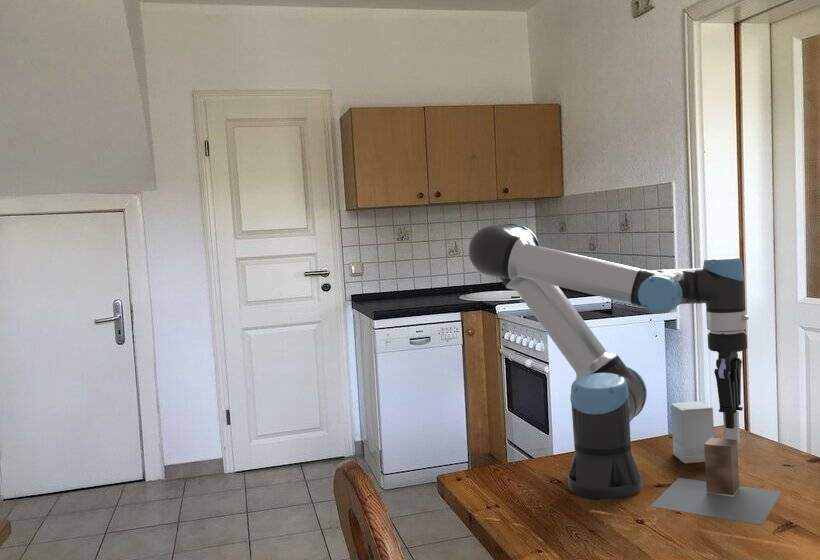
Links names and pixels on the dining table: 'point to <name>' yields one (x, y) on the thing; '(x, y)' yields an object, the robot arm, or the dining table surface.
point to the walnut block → (721, 466)
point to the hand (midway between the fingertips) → (732, 441)
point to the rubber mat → (718, 501)
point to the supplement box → (691, 430)
